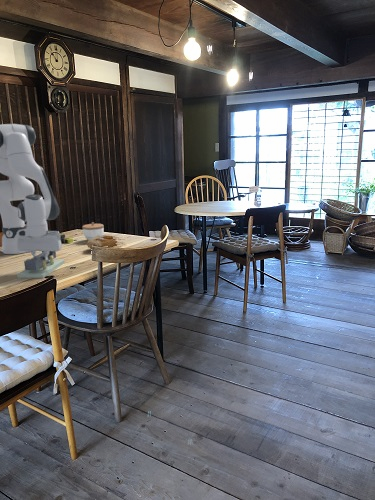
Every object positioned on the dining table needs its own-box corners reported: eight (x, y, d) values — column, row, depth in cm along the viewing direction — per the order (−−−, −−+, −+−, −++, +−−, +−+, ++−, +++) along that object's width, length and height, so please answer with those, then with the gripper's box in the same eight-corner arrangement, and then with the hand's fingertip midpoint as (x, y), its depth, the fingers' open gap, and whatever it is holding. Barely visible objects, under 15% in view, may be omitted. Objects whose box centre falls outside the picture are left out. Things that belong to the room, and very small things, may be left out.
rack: (41, 262, 200) (40, 251, 199) (64, 262, 199) (63, 251, 198) (17, 277, 177) (15, 265, 176) (43, 277, 176) (41, 265, 175)
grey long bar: (46, 257, 198) (45, 249, 197) (56, 257, 198) (55, 249, 197) (25, 270, 178) (24, 261, 177) (36, 270, 177) (35, 261, 176)
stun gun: (76, 233, 257) (52, 234, 256) (70, 239, 238) (45, 240, 237) (77, 237, 258) (53, 238, 257) (71, 244, 239) (45, 245, 238)
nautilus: (127, 246, 231) (124, 254, 217) (89, 245, 230) (84, 253, 216) (127, 233, 229) (124, 240, 215) (89, 231, 228) (84, 239, 214)
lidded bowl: (107, 237, 252) (105, 220, 249) (101, 242, 240) (99, 224, 237) (87, 237, 253) (86, 220, 251) (80, 242, 241) (78, 224, 238)
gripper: (62, 229, 186) (65, 258, 189) (20, 229, 188) (23, 258, 191) (56, 232, 180) (60, 262, 183) (13, 232, 182) (17, 261, 185)
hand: (41, 260), depth 187 cm, fingers closed on grey long bar, 3 cm apart
